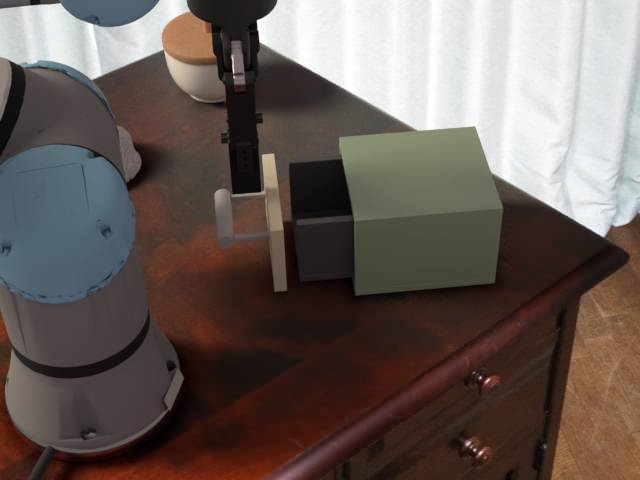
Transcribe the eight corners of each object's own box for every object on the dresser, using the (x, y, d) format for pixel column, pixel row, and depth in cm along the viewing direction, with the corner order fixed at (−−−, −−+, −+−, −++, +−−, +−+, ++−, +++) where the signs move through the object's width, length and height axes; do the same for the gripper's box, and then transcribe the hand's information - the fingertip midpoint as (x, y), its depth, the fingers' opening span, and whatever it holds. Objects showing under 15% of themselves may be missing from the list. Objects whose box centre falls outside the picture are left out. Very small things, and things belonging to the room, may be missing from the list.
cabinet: (355, 295, 110) (355, 220, 104) (340, 210, 120) (339, 137, 113) (494, 283, 111) (503, 208, 105) (469, 199, 120) (475, 125, 114)
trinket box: (256, 114, 132) (251, 44, 126) (163, 115, 133) (154, 45, 126) (261, 62, 140) (256, -6, 134) (173, 63, 141) (165, -5, 134)
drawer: (222, 296, 109) (215, 235, 104) (217, 218, 118) (211, 158, 112) (404, 280, 110) (406, 219, 105) (386, 204, 119) (388, 143, 114)
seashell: (162, 135, 125) (94, 165, 117) (159, 178, 128) (93, 211, 120) (95, 101, 129) (26, 129, 122) (94, 144, 132) (27, 173, 125)
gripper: (282, 0, 88) (292, 231, 104) (270, -79, 97) (280, 143, 113) (184, 6, 87) (208, 237, 103) (181, -73, 97) (204, 149, 113)
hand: (246, 188), depth 108 cm, fingers closed
